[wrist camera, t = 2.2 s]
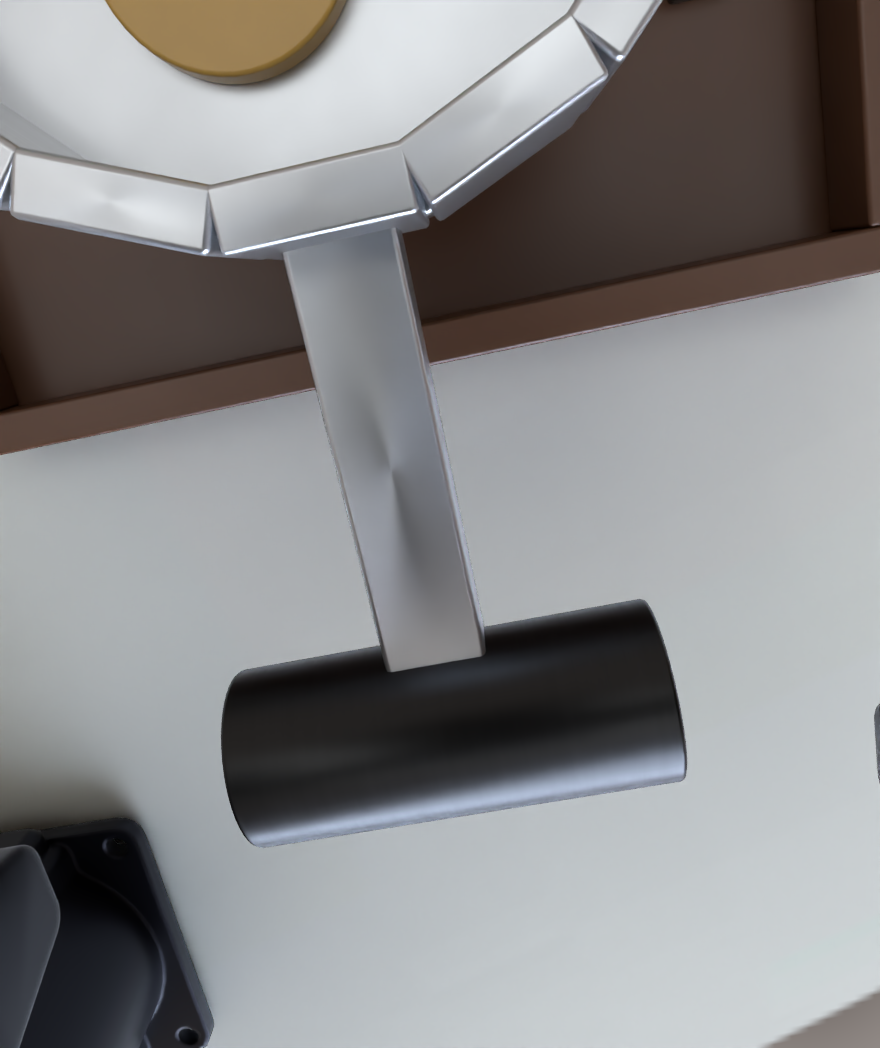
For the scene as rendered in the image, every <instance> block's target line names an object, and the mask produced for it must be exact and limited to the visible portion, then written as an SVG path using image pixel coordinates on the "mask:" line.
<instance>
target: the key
mask: <svg viewBox="0 0 880 1048" xmlns="http://www.w3.org/2000/svg"><path fill="white" fill-rule="evenodd" d="M105 2H106V3H107V5H108V6H109V8H110V10H111V11H112V13H113V14H114V16H115V17H116V18H117V19H118V21H119V22H120V23H121V24H122V26H123V27H124V28H125V29H126V30H127V31H128V32H129V33H130V34H131V35H132V36H133V37H134V38H135V39H136V40H137V41H138V42H139V43H140V44H141V45H142V46H144V47H145V48H146V49H148V50H149V51H150V52H151V53H153V54H154V55H155V56H157V57H158V58H160V59H161V60H162V61H164V62H166V63H167V64H169V65H171V66H172V67H174V68H176V69H177V70H179V71H181V72H183V73H186V74H188V75H190V76H193V77H195V78H199V79H202V80H206V81H209V82H215V83H223V84H246V83H252V82H258V81H262V80H266V79H269V78H272V77H275V76H277V75H279V74H281V73H283V72H285V71H287V70H289V69H291V68H293V67H294V66H296V65H297V64H298V63H300V62H301V61H303V60H304V59H305V58H306V57H308V56H309V55H310V54H311V53H312V52H313V51H314V50H315V49H316V48H317V47H318V46H319V45H320V44H321V42H322V41H323V40H324V39H325V38H326V36H327V35H328V34H329V32H330V31H331V29H332V28H333V26H334V24H335V23H336V21H337V20H338V18H339V16H340V14H341V11H342V9H343V7H344V5H345V3H346V0H105Z"/></svg>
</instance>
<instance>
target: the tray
mask: <svg viewBox="0 0 880 1048" xmlns="http://www.w3.org/2000/svg"><path fill="white" fill-rule="evenodd" d="M429 221H430V223H429V226H428V227H427V228H424V229H420V230H416V231H411V232H407V233H402V235H403V240H404V244H405V249H406V254H407V259H408V264H409V268H410V273H411V278H412V283H413V288H414V292H415V297H416V302H417V307H418V312H419V316H420V321H421V326H422V331H423V335H424V340H425V345H426V350H427V355H428V359H429V364H430V366H431V365H436V364H441V363H445V362H450V361H455V360H460V359H465V358H469V357H474V356H479V355H484V354H489V353H493V352H498V351H503V350H508V349H513V348H517V347H522V346H527V345H532V344H537V343H542V342H546V341H551V340H556V339H561V338H566V337H570V336H575V335H580V334H585V333H590V332H594V331H599V330H604V329H609V328H614V327H618V326H623V325H628V324H633V323H638V322H642V321H647V320H652V319H657V318H662V317H666V316H671V315H676V314H681V313H686V312H690V311H695V310H700V309H705V308H710V307H714V306H719V305H724V304H729V303H734V302H739V301H743V300H748V299H753V298H758V297H763V296H767V295H772V294H777V293H782V292H787V291H791V290H796V289H801V288H806V287H811V286H815V285H820V284H825V283H830V282H835V281H839V280H844V279H849V278H854V277H859V276H863V275H868V274H873V273H878V272H880V0H691V1H687V2H683V3H678V4H674V5H670V4H669V3H668V0H663V1H662V3H661V4H660V6H659V7H658V9H657V11H656V12H655V14H654V15H653V17H652V18H651V20H650V21H649V23H648V25H647V26H646V28H645V29H644V31H643V32H642V34H641V35H640V37H639V39H638V40H637V42H636V43H635V45H634V46H633V48H632V49H631V51H630V53H629V54H628V56H627V57H626V59H625V60H624V61H623V63H622V64H621V65H620V67H619V68H618V69H617V71H616V72H615V73H614V75H613V76H612V77H611V79H610V80H609V81H608V83H607V84H606V85H605V87H604V88H603V89H602V91H601V92H600V93H599V94H598V96H597V97H596V98H595V100H594V101H593V102H592V104H591V105H590V106H589V108H588V109H587V110H586V111H585V112H583V113H581V114H580V116H579V117H578V118H577V120H576V121H575V123H574V124H573V125H572V127H571V128H570V129H568V130H567V131H565V132H564V133H563V134H561V135H560V136H559V137H557V138H556V139H554V140H553V141H552V142H550V143H549V144H548V145H546V146H545V147H543V148H542V149H541V150H539V151H538V152H537V153H535V154H534V155H532V156H531V157H530V158H528V159H527V160H525V161H524V162H523V163H521V164H520V165H519V166H517V167H516V168H514V169H513V170H512V171H510V172H509V173H508V174H506V175H505V176H503V177H502V178H501V179H499V180H498V181H497V182H495V183H494V184H492V185H491V186H490V187H488V188H487V189H486V190H484V191H483V192H481V193H480V194H479V195H477V196H476V197H475V198H473V199H472V200H470V201H469V202H468V203H466V204H465V205H464V206H462V207H461V208H459V209H458V210H457V211H455V212H454V213H453V214H451V215H450V216H448V217H447V218H446V219H444V220H442V221H439V220H438V219H436V217H435V216H433V217H431V218H429ZM311 390H316V388H315V384H314V380H313V376H312V372H311V368H310V364H309V360H308V356H307V352H306V348H305V344H304V340H303V336H302V332H301V328H300V324H299V320H298V316H297V312H296V308H295V304H294V300H293V296H292V292H291V288H290V284H289V280H288V276H287V272H286V268H285V264H284V260H275V259H264V260H257V259H242V258H226V257H211V256H200V255H195V254H190V253H185V252H180V251H175V250H170V249H165V248H160V247H155V246H150V245H145V244H140V243H135V242H130V241H124V240H119V239H114V238H109V237H104V236H99V235H94V234H89V233H84V232H79V231H74V230H69V229H64V228H59V227H54V226H48V225H43V224H38V223H33V222H28V221H23V220H18V219H17V218H15V217H14V216H12V215H11V213H10V211H4V210H0V455H3V454H8V453H13V452H18V451H23V450H27V449H32V448H37V447H42V446H47V445H51V444H56V443H61V442H66V441H71V440H75V439H80V438H85V437H90V436H95V435H100V434H104V433H109V432H114V431H119V430H124V429H128V428H133V427H138V426H143V425H148V424H152V423H157V422H162V421H167V420H172V419H176V418H181V417H186V416H191V415H196V414H200V413H205V412H210V411H215V410H220V409H224V408H229V407H234V406H239V405H244V404H248V403H253V402H258V401H263V400H268V399H272V398H277V397H282V396H287V395H292V394H296V393H301V392H306V391H311Z"/></svg>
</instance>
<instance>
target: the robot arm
mask: <svg viewBox="0 0 880 1048" xmlns="http://www.w3.org/2000/svg"><path fill="white" fill-rule="evenodd" d="M874 722H875V737H876V753H877V769H878V778H879V782H880V704H879V705H878V706H877V708H876V711H875V715H874ZM113 838H117V839H120V840H122V841H124V842H125V843H126V845H127V846H126V845H120V844H118V843H116V842H115V840H114V839H113ZM213 1027H214V1022H213V1018H212V1015H211V1012H210V1009H209V1007H208V1004H207V1001H206V999H205V996H204V993H203V990H202V988H201V985H200V982H199V979H198V977H197V974H196V971H195V969H194V966H193V963H192V960H191V958H190V955H189V952H188V950H187V947H186V944H185V941H184V939H183V936H182V933H181V930H180V928H179V925H178V922H177V920H176V917H175V914H174V911H173V909H172V906H171V903H170V901H169V898H168V895H167V892H166V890H165V887H164V884H163V881H162V879H161V876H160V873H159V871H158V868H157V865H156V862H155V860H154V857H153V854H152V852H151V849H150V846H149V843H148V841H147V838H146V835H145V833H144V831H143V829H142V828H141V826H140V825H139V824H137V823H136V822H135V821H133V820H130V819H128V818H111V819H105V820H99V821H93V822H87V823H81V824H75V825H69V826H63V827H57V828H51V829H45V830H33V829H23V830H17V831H11V832H5V833H0V1048H205V1047H206V1046H207V1044H208V1042H209V1039H210V1036H211V1033H212V1030H213ZM191 1029H192V1030H191Z"/></svg>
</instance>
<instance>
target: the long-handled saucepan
mask: <svg viewBox="0 0 880 1048" xmlns="http://www.w3.org/2000/svg"><path fill="white" fill-rule="evenodd" d="M662 1H663V0H346V3H345V5H344V7H343V9H342V11H341V14H340V16H339V18H338V20H337V21H336V23H335V24H334V26H333V28H332V29H331V31H330V32H329V34H328V35H327V36H326V38H325V39H324V40H323V41H322V42H321V44H320V45H319V46H318V47H317V48H316V49H315V50H314V51H313V52H312V53H311V54H310V55H309V56H308V57H306V58H305V59H304V60H303V61H301V62H300V63H298V64H297V65H296V66H294V67H293V68H291V69H289V70H287V71H285V72H283V73H281V74H279V75H277V76H275V77H272V78H269V79H266V80H262V81H258V82H252V83H246V84H223V83H215V82H209V81H206V80H202V79H199V78H195V77H193V76H190V75H188V74H186V73H183V72H181V71H179V70H177V69H176V68H174V67H172V66H171V65H169V64H167V63H166V62H164V61H162V60H161V59H160V58H158V57H157V56H155V55H154V54H153V53H151V52H150V51H149V50H148V49H146V48H145V47H144V46H142V45H141V44H140V43H139V42H138V41H137V40H136V39H135V38H134V37H133V36H132V35H131V34H130V33H129V32H128V31H127V30H126V29H125V28H124V27H123V26H122V24H121V23H120V22H119V21H118V19H117V18H116V17H115V16H114V14H113V13H112V11H111V10H110V8H109V6H108V5H107V3H106V2H105V0H0V210H4V211H10V213H11V215H12V216H14V217H15V218H17V219H18V220H23V221H28V222H33V223H38V224H43V225H48V226H54V227H59V228H64V229H69V230H74V231H79V232H84V233H89V234H94V235H99V236H104V237H109V238H114V239H119V240H124V241H130V242H135V243H140V244H145V245H150V246H155V247H160V248H165V249H170V250H175V251H180V252H185V253H190V254H195V255H200V256H211V257H226V258H242V259H257V260H264V259H275V260H284V264H285V268H286V272H287V276H288V280H289V284H290V288H291V292H292V296H293V300H294V304H295V308H296V312H297V316H298V320H299V324H300V328H301V332H302V336H303V340H304V344H305V348H306V352H307V356H308V360H309V364H310V368H311V372H312V376H313V380H314V384H315V388H316V392H317V396H318V400H319V404H320V408H321V412H322V416H323V420H324V424H325V428H326V432H327V436H328V440H329V444H330V448H331V452H332V456H333V460H334V464H335V468H336V472H337V476H338V480H339V484H340V488H341V492H342V496H343V500H344V504H345V508H346V512H347V516H348V520H349V524H350V528H351V532H352V536H353V540H354V544H355V548H356V552H357V556H358V559H359V563H360V567H361V571H362V575H363V579H364V583H365V587H366V591H367V595H368V599H369V603H370V607H371V611H372V615H373V619H374V623H375V627H376V631H377V635H378V639H379V643H380V646H375V647H369V648H364V649H358V650H352V651H347V652H341V653H336V654H330V655H324V656H319V657H313V658H308V659H302V660H297V661H291V662H285V663H280V664H274V665H269V666H263V667H257V668H252V669H246V670H243V671H241V672H240V673H238V674H237V675H236V676H235V677H234V679H233V680H232V682H231V684H230V686H229V688H228V691H227V694H226V698H225V702H224V708H223V715H222V728H221V750H222V763H223V771H224V778H225V783H226V789H227V793H228V797H229V801H230V804H231V808H232V811H233V814H234V816H235V819H236V821H237V824H238V826H239V828H240V830H241V831H242V833H243V835H244V836H245V837H246V839H247V840H248V841H249V842H250V843H252V844H253V845H255V846H257V847H262V848H265V847H271V846H278V845H284V844H290V843H297V842H303V841H309V840H315V839H322V838H328V837H334V836H340V835H347V834H353V833H359V832H366V831H372V830H378V829H384V828H391V827H397V826H403V825H410V824H416V823H422V822H428V821H435V820H441V819H447V818H454V817H460V816H466V815H472V814H479V813H485V812H491V811H498V810H504V809H510V808H516V807H523V806H529V805H535V804H542V803H548V802H554V801H560V800H567V799H573V798H579V797H586V796H592V795H598V794H604V793H611V792H617V791H623V790H630V789H636V788H642V787H648V786H655V785H661V784H667V783H674V782H680V781H682V780H683V779H684V778H685V776H686V770H687V751H686V741H685V733H684V726H683V720H682V714H681V709H680V704H679V699H678V694H677V689H676V685H675V681H674V676H673V672H672V669H671V665H670V661H669V657H668V654H667V650H666V647H665V644H664V640H663V637H662V634H661V631H660V629H659V626H658V623H657V621H656V618H655V616H654V614H653V612H652V610H651V608H650V607H649V605H648V604H647V602H646V601H645V600H642V599H637V600H632V601H626V602H621V603H615V604H609V605H604V606H598V607H593V608H587V609H581V610H576V611H570V612H565V613H559V614H554V615H548V616H542V617H537V618H531V619H526V620H520V621H514V622H509V623H503V624H498V625H492V626H486V627H484V623H483V618H482V613H481V608H480V603H479V599H478V594H477V589H476V584H475V580H474V575H473V570H472V565H471V560H470V556H469V551H468V546H467V541H466V536H465V532H464V527H463V522H462V517H461V513H460V508H459V503H458V498H457V493H456V489H455V484H454V479H453V474H452V469H451V465H450V460H449V455H448V450H447V446H446V441H445V436H444V431H443V426H442V422H441V417H440V412H439V407H438V402H437V398H436V393H435V388H434V383H433V379H432V374H431V369H430V364H429V359H428V355H427V350H426V345H425V340H424V335H423V331H422V326H421V321H420V316H419V312H418V307H417V302H416V297H415V292H414V288H413V283H412V278H411V273H410V268H409V264H408V259H407V254H406V249H405V244H404V240H403V235H402V233H407V232H411V231H416V230H420V229H424V228H427V227H428V226H429V223H430V221H429V218H431V217H433V216H435V217H436V219H438V220H439V221H442V220H444V219H446V218H447V217H448V216H450V215H451V214H453V213H454V212H455V211H457V210H458V209H459V208H461V207H462V206H464V205H465V204H466V203H468V202H469V201H470V200H472V199H473V198H475V197H476V196H477V195H479V194H480V193H481V192H483V191H484V190H486V189H487V188H488V187H490V186H491V185H492V184H494V183H495V182H497V181H498V180H499V179H501V178H502V177H503V176H505V175H506V174H508V173H509V172H510V171H512V170H513V169H514V168H516V167H517V166H519V165H520V164H521V163H523V162H524V161H525V160H527V159H528V158H530V157H531V156H532V155H534V154H535V153H537V152H538V151H539V150H541V149H542V148H543V147H545V146H546V145H548V144H549V143H550V142H552V141H553V140H554V139H556V138H557V137H559V136H560V135H561V134H563V133H564V132H565V131H567V130H568V129H570V128H571V127H572V125H573V124H574V123H575V121H576V120H577V118H578V117H579V116H580V114H581V113H583V112H585V111H586V110H587V109H588V108H589V106H590V105H591V104H592V102H593V101H594V100H595V98H596V97H597V96H598V94H599V93H600V92H601V91H602V89H603V88H604V87H605V85H606V84H607V83H608V81H609V80H610V79H611V77H612V76H613V75H614V73H615V72H616V71H617V69H618V68H619V67H620V65H621V64H622V63H623V61H624V60H625V59H626V57H627V56H628V54H629V53H630V51H631V49H632V48H633V46H634V45H635V43H636V42H637V40H638V39H639V37H640V35H641V34H642V32H643V31H644V29H645V28H646V26H647V25H648V23H649V21H650V20H651V18H652V17H653V15H654V14H655V12H656V11H657V9H658V7H659V6H660V4H661V3H662Z"/></svg>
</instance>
